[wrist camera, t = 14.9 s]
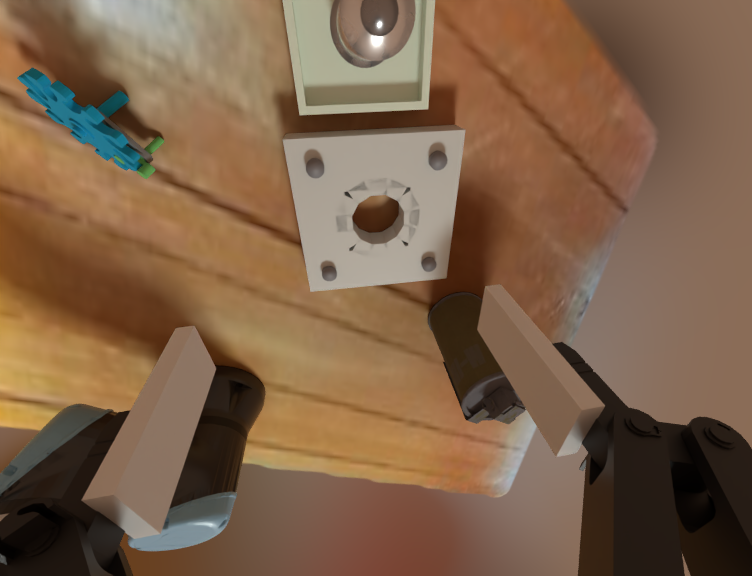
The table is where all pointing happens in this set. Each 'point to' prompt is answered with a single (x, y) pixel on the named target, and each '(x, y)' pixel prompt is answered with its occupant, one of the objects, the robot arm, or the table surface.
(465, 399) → the canister
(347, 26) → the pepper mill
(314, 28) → the parts tray
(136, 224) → the table surface
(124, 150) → the teal bumpy figure
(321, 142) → the bearing plate
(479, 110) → the table surface
